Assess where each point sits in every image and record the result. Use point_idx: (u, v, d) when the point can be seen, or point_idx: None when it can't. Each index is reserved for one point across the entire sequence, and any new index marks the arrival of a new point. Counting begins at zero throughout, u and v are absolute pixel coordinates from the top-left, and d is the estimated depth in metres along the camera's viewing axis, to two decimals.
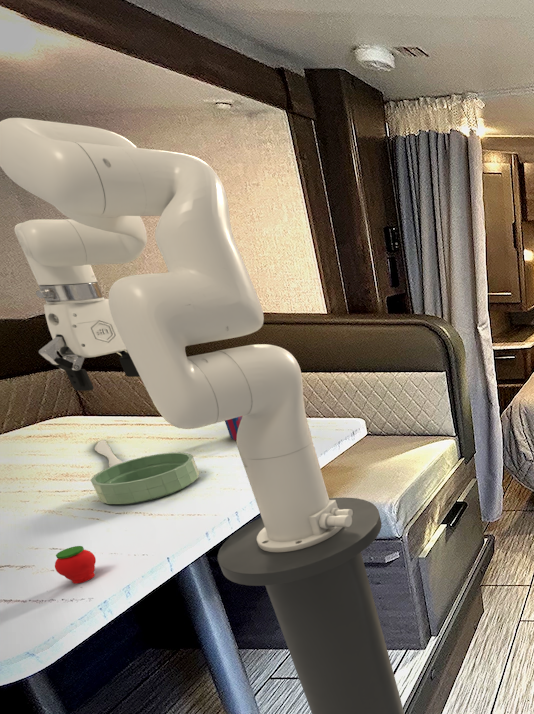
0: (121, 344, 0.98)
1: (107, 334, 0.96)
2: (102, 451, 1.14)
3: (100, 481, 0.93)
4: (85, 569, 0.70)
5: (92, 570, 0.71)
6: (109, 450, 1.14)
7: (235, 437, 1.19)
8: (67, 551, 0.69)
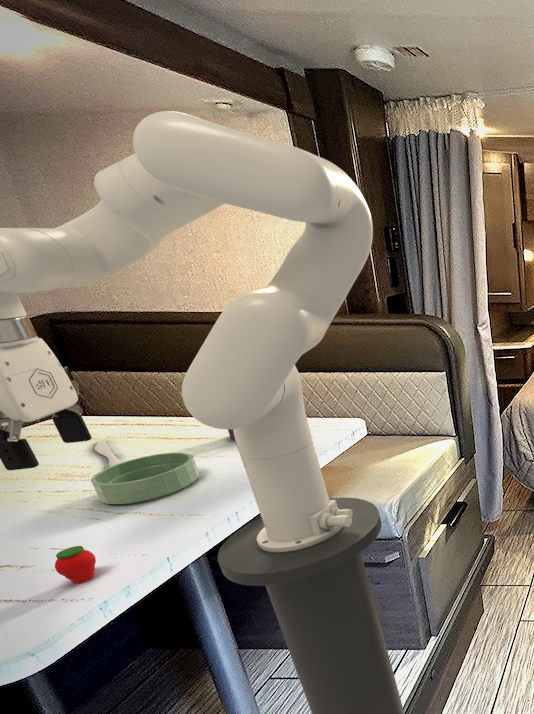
0: (66, 399, 0.71)
1: (48, 387, 0.69)
2: (102, 451, 1.14)
3: (100, 481, 0.93)
4: (85, 569, 0.70)
5: (92, 570, 0.71)
6: (109, 450, 1.14)
7: None
8: (67, 551, 0.69)
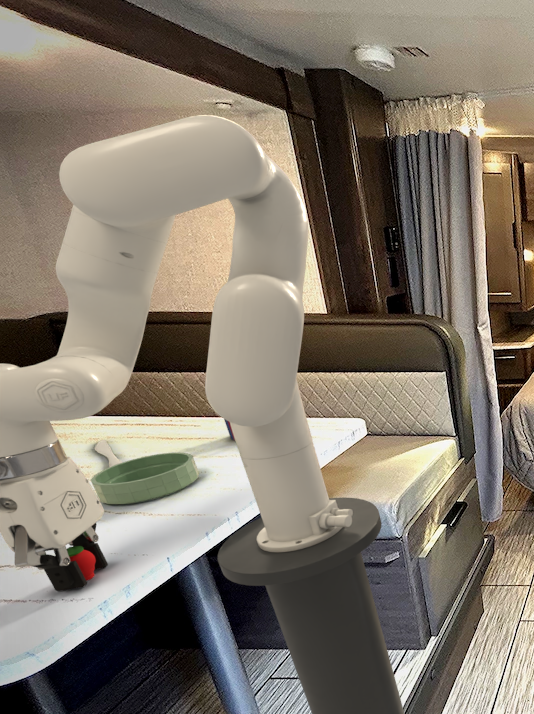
0: (93, 515, 0.71)
1: (77, 507, 0.68)
2: (102, 451, 1.14)
3: (100, 481, 0.93)
4: (85, 569, 0.70)
5: (92, 570, 0.71)
6: (109, 450, 1.14)
7: None
8: (67, 551, 0.69)
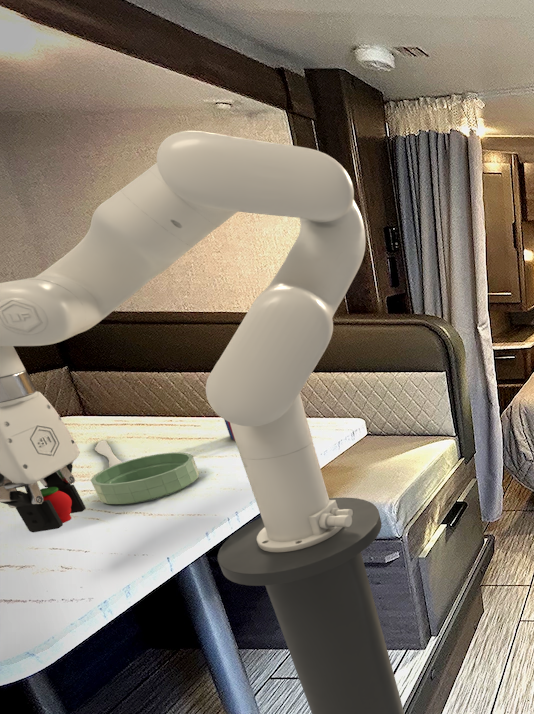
0: (68, 454, 0.67)
1: (50, 444, 0.65)
2: (102, 451, 1.14)
3: (100, 481, 0.93)
4: (60, 510, 0.67)
5: (68, 512, 0.68)
6: (109, 450, 1.14)
7: None
8: None
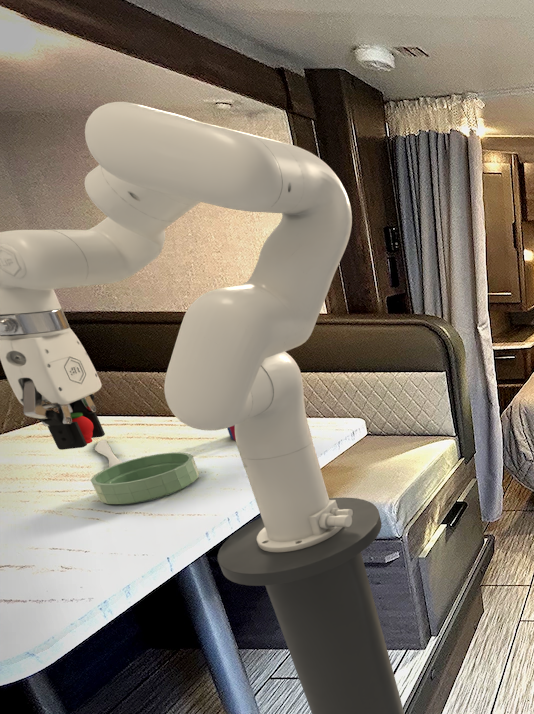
0: (92, 385, 0.78)
1: (78, 373, 0.76)
2: (102, 451, 1.14)
3: (100, 481, 0.93)
4: (84, 432, 0.77)
5: (90, 435, 0.78)
6: (109, 450, 1.14)
7: None
8: None
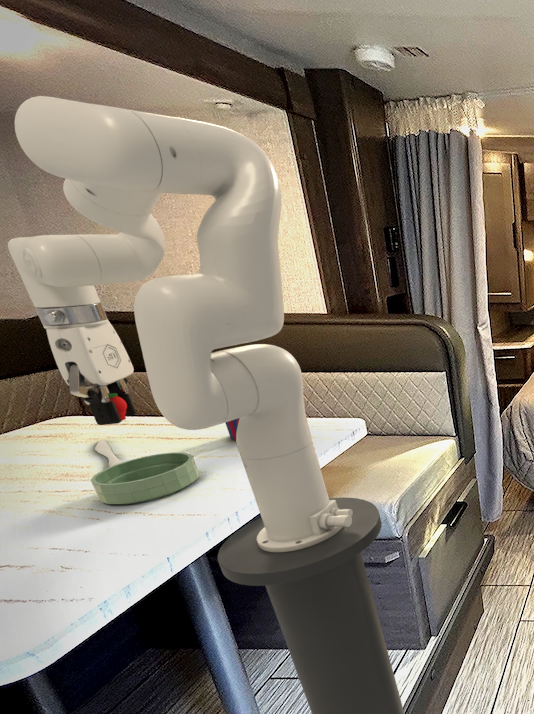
0: (126, 369, 0.90)
1: (115, 359, 0.87)
2: (102, 451, 1.14)
3: (100, 481, 0.93)
4: (119, 410, 0.89)
5: (124, 413, 0.90)
6: (109, 450, 1.14)
7: (235, 437, 1.19)
8: None
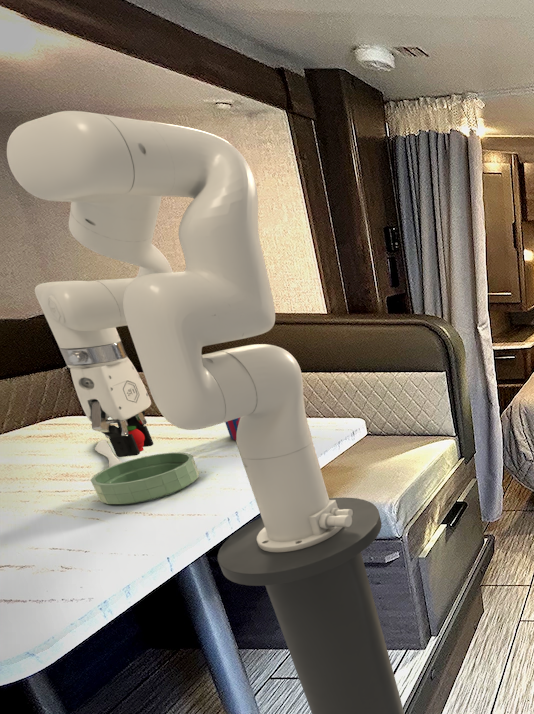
0: (144, 403, 0.94)
1: (133, 394, 0.91)
2: (102, 451, 1.14)
3: (100, 481, 0.93)
4: (137, 442, 0.93)
5: (142, 445, 0.94)
6: (109, 450, 1.14)
7: (235, 437, 1.19)
8: None
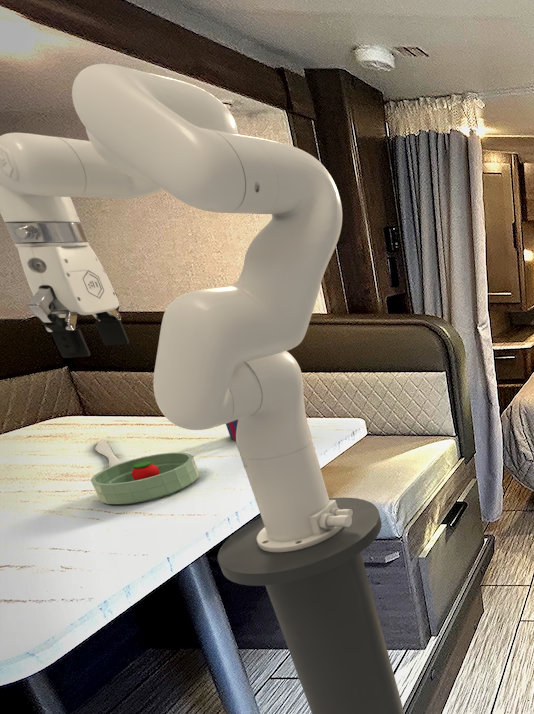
0: (110, 302, 0.81)
1: (97, 288, 0.78)
2: (102, 451, 1.14)
3: (100, 481, 0.93)
4: None
5: None
6: (109, 450, 1.14)
7: (235, 437, 1.19)
8: (140, 464, 0.95)
